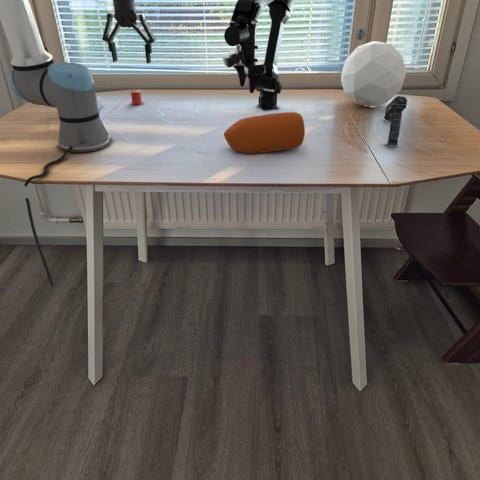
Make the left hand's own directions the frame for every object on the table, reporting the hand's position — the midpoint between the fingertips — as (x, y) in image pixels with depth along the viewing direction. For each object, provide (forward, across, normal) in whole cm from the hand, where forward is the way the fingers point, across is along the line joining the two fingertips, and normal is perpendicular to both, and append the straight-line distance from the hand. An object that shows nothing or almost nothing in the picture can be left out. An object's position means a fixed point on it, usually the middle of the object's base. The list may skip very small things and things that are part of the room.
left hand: (131, 61), depth 157 cm
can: (+16, 0, 0) cm, 16 cm away
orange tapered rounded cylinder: (+16, -56, +38) cm, 70 cm away
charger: (+16, +16, +10) cm, 25 cm away
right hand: (+5, -47, +11) cm, 48 cm away
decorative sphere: (+16, -93, -17) cm, 96 cm away
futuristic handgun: (+16, -98, +17) cm, 100 cm away
